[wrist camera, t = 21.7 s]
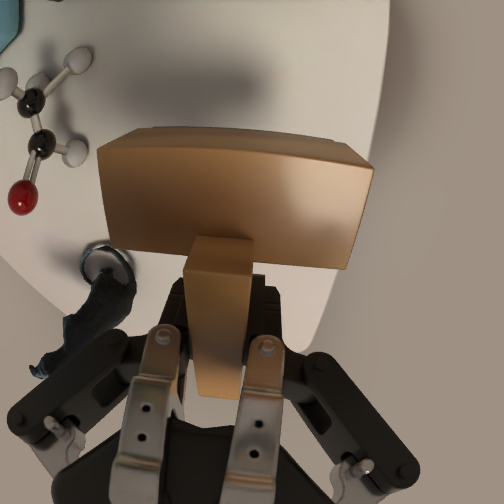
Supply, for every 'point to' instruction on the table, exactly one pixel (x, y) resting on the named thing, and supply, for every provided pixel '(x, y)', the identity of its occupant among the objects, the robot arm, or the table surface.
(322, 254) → the brush
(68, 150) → the molecular model
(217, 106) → the table surface
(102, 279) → the sculpture
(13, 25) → the teapot
